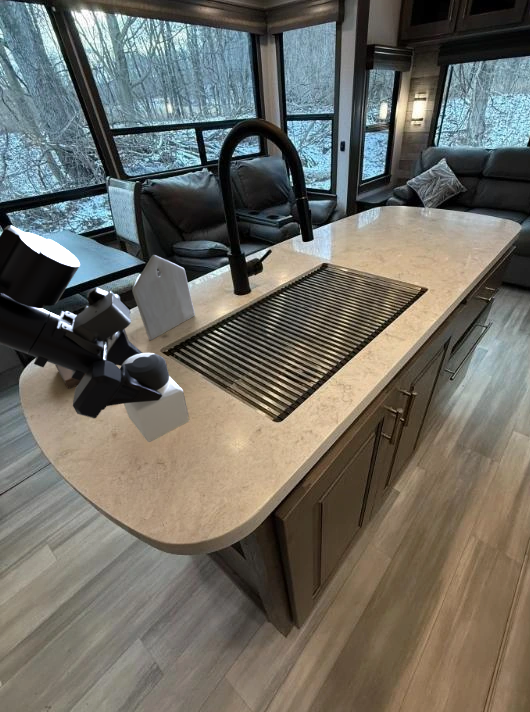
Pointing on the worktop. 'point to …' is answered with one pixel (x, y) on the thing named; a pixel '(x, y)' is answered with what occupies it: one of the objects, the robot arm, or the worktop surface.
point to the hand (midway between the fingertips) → (158, 382)
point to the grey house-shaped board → (162, 296)
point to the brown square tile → (68, 377)
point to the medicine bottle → (163, 412)
